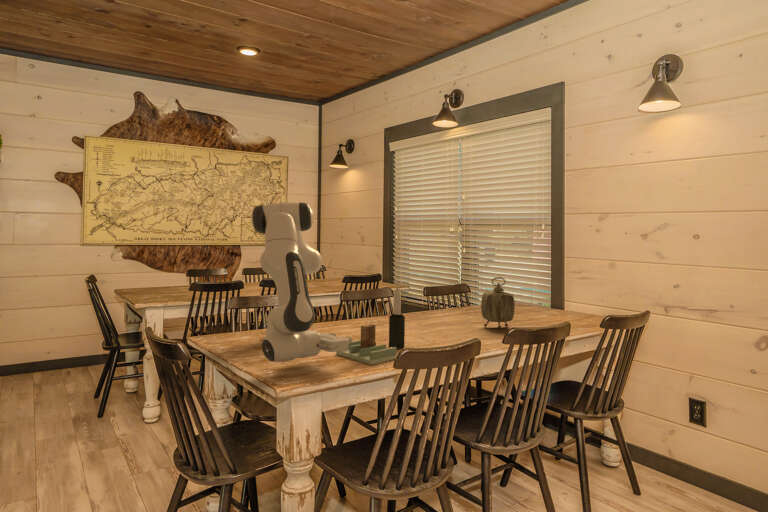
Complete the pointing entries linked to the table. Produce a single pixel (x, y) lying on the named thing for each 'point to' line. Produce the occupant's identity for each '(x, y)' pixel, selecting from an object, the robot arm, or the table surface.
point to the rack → (369, 353)
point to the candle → (396, 323)
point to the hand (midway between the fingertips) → (342, 337)
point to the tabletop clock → (497, 305)
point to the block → (367, 336)
